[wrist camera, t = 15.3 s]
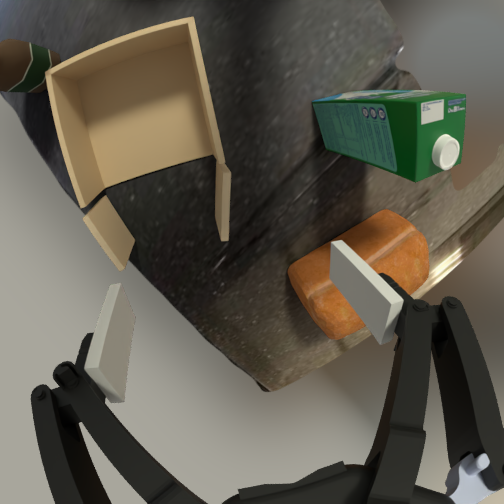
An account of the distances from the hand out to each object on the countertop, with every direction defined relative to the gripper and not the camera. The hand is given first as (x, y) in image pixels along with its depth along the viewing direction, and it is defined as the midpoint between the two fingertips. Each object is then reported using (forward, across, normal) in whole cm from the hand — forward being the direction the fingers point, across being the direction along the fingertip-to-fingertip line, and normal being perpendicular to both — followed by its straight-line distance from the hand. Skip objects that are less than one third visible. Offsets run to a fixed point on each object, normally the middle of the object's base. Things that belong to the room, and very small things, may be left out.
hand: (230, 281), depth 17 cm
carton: (+31, -8, +12) cm, 34 cm away
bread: (+31, +26, -21) cm, 46 cm away
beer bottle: (+31, -24, +25) cm, 47 cm away
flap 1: (+30, -16, -4) cm, 34 cm away
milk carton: (+31, +24, +7) cm, 40 cm away
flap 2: (+30, +2, -3) cm, 30 cm away
